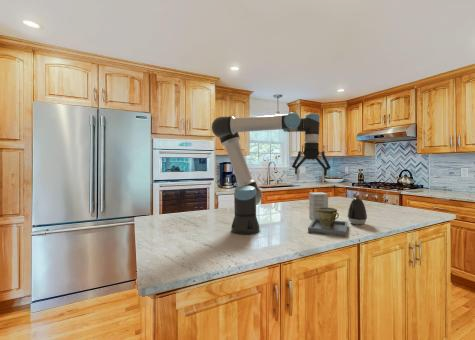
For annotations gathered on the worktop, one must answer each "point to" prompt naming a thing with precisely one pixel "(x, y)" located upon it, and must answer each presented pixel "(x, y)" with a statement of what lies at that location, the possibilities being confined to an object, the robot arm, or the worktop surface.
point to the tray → (338, 229)
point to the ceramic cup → (327, 217)
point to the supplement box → (317, 203)
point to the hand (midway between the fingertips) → (310, 181)
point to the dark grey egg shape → (357, 212)
